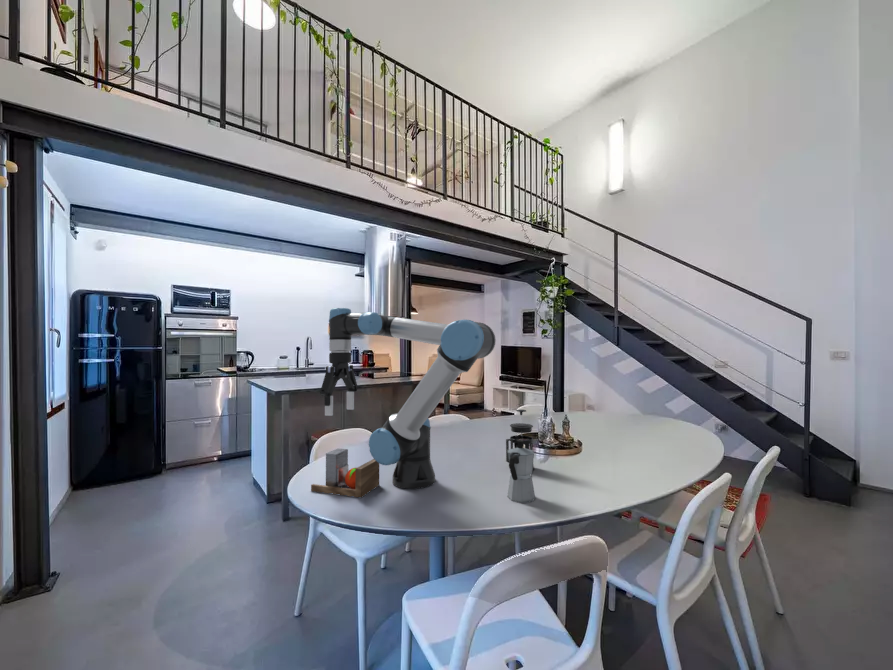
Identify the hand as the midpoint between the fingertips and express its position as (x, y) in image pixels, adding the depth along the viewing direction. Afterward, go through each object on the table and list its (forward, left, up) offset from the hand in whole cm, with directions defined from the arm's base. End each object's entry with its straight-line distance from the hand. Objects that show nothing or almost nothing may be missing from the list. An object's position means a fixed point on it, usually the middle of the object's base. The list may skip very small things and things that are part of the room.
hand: (340, 412), depth 135 cm
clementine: (-7, +2, -25) cm, 26 cm away
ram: (0, +2, -25) cm, 25 cm away
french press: (-57, -38, -25) cm, 73 cm away
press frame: (-4, +2, -25) cm, 25 cm away
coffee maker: (-61, -7, -25) cm, 67 cm away
